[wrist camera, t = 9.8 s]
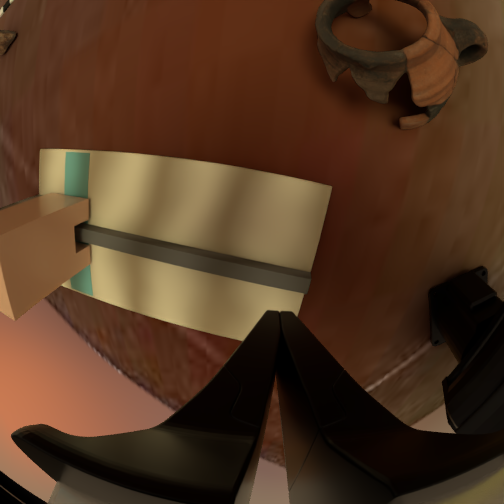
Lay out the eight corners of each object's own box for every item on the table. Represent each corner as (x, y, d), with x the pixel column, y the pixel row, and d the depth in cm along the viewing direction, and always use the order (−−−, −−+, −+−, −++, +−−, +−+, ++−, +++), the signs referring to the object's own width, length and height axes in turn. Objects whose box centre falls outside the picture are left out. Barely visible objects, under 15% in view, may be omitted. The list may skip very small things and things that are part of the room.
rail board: (331, 185, 19) (350, 204, 13) (286, 346, 24) (283, 402, 18) (43, 148, 20) (-7, 157, 14) (50, 277, 25) (11, 305, 19)
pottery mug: (371, 156, 18) (343, 104, 11) (323, 64, 19) (278, 3, 12) (502, 109, 12) (529, 46, 5) (437, 23, 13) (428, -47, 6)
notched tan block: (88, 198, 20) (-4, 237, 11) (90, 263, 23) (15, 320, 13) (51, 192, 21) (-34, 224, 11) (54, 252, 23) (-18, 298, 14)
